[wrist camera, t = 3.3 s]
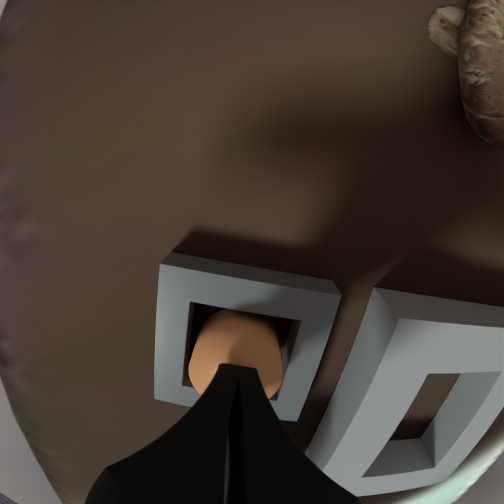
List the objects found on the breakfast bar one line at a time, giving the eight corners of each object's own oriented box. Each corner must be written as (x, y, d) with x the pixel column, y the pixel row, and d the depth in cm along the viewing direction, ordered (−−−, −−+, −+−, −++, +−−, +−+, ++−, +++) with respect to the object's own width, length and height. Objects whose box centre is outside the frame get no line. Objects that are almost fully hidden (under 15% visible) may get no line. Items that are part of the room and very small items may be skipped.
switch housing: (294, 400, 15) (297, 421, 14) (162, 378, 15) (154, 398, 13) (332, 280, 13) (341, 295, 12) (171, 251, 13) (160, 263, 11)
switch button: (269, 379, 14) (271, 413, 12) (194, 366, 14) (185, 399, 12) (287, 314, 13) (292, 344, 11) (202, 300, 13) (192, 328, 11)
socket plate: (431, 455, 17) (444, 481, 14) (299, 463, 17) (303, 499, 14) (516, 309, 14) (544, 330, 11) (373, 287, 13) (399, 317, 10)
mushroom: (386, -46, 6) (546, -23, 2) (468, -18, 8) (568, 12, 4) (397, 129, 12) (522, 197, 8) (468, 103, 14) (554, 147, 10)
